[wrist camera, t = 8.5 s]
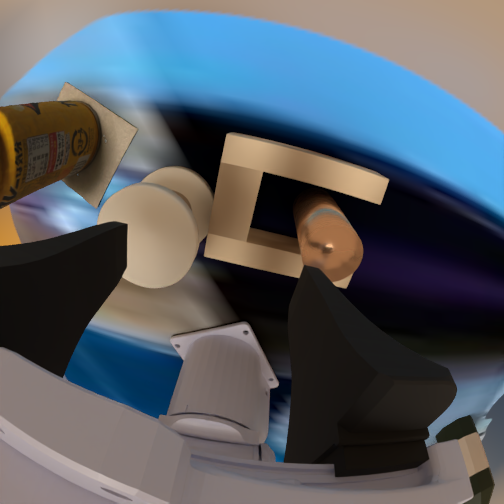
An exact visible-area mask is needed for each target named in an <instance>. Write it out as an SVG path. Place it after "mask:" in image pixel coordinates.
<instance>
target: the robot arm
mask: <svg viewBox="0 0 504 504" xmlns="http://www.w3.org/2000/svg"><path fill="white" fill-rule="evenodd" d="M127 234H128V224H126V223H122V222H117V221H111V222H106V223H102V224H99V225H95V226H92V227H88V228H85V229H82V230H79V231H75V232H72V233H68V234H65V235H61V236H58V237H54V238H50V239H46V240H41V241H36V242H31V243H24V244H16V245H8V246H0V504H463V503H465V502H467V501H468V500H470V499H472V498H473V496H474V495H473V491H472V487H471V483H470V479H469V475H468V472H467V468H466V465H465V461H464V458H463V455H462V451H461V448H460V445H459V442H458V440H456V439H454V440H450V441H445V442H440V443H436V444H433V445H431V446H429V447H427V448H426V444H425V441H424V440H426V439H427V438H429V431H428V428H427V427H428V426H429V425H430V424H431V423H433V422H434V421H435V420H436V419H437V418H438V417H439V416H440V415H441V414H442V413H443V412H444V411H445V410H446V409H447V408H448V407H449V406H450V405H451V403H452V402H453V400H454V398H455V396H456V393H457V387H456V384H455V382H454V380H453V378H452V376H451V373H450V371H449V370H448V368H446V367H443V366H441V365H439V364H437V363H435V362H432V361H430V360H428V359H426V358H424V357H422V356H420V355H418V354H417V353H415V352H413V351H411V350H410V349H408V348H406V347H405V346H403V345H401V344H400V343H398V342H397V341H395V340H394V339H393V338H391V337H390V336H388V335H387V334H385V333H384V332H383V331H381V330H380V329H379V328H378V327H376V326H375V325H374V324H373V323H372V322H371V321H369V320H368V319H367V318H366V317H365V316H364V315H363V314H361V313H360V312H359V311H358V310H357V309H356V308H355V307H354V306H353V305H352V304H351V303H350V302H349V300H348V299H347V298H346V297H345V296H344V295H343V294H342V293H341V292H340V291H339V290H338V288H337V287H336V286H335V285H334V284H333V283H332V282H331V280H330V279H329V278H328V277H327V276H326V275H325V274H324V273H323V272H322V271H321V270H320V269H319V268H316V267H311V266H307V265H304V266H303V269H302V272H301V275H300V277H299V280H298V283H297V286H296V288H295V291H294V294H293V297H292V299H291V302H290V305H289V314H288V335H289V347H290V359H291V371H292V388H291V405H290V417H289V428H288V436H287V444H286V451H285V457H284V463H280V462H275V454H274V452H273V451H272V450H271V448H269V445H268V444H266V443H264V441H265V439H266V437H267V434H268V424H269V399H270V388H275V387H278V385H279V381H278V380H277V378H276V376H275V374H274V372H273V370H272V368H271V366H270V364H269V362H268V360H267V358H266V356H265V354H264V352H263V350H262V348H261V346H260V344H259V342H258V340H257V338H256V336H255V334H254V332H253V330H252V328H251V326H250V324H249V323H247V322H239V323H235V324H230V325H226V326H221V327H217V328H212V329H207V330H202V331H197V332H192V333H187V334H182V335H177V336H173V337H171V339H170V342H171V344H172V345H173V346H174V348H175V349H176V351H177V352H178V353H179V355H180V356H181V358H182V359H183V360H184V362H183V365H182V368H181V371H180V374H179V378H178V381H177V384H176V387H175V390H174V393H173V396H172V399H171V403H170V406H169V409H168V412H167V415H166V416H165V415H160V416H159V419H156V418H154V417H151V416H149V415H147V414H144V413H142V412H140V411H138V410H136V409H133V408H131V407H129V406H127V405H124V404H121V403H119V402H116V401H113V400H111V399H108V398H106V397H103V396H101V395H98V394H96V393H94V392H91V391H89V390H87V389H84V388H82V387H80V386H78V385H76V384H73V383H71V382H69V381H67V380H65V379H63V376H64V373H65V371H66V368H67V366H68V363H69V361H70V359H71V356H72V354H73V352H74V350H75V348H76V345H77V343H78V342H79V340H80V338H81V336H82V334H83V332H84V330H85V328H86V327H87V325H88V324H89V322H90V321H91V319H92V318H93V316H94V315H95V314H96V312H97V311H98V310H99V308H100V307H101V306H102V304H103V303H104V302H105V300H106V299H107V298H108V296H109V295H110V294H111V292H112V291H113V290H114V288H115V287H116V286H117V284H118V283H119V281H120V279H121V277H122V276H123V274H124V272H125V270H126V268H127ZM245 331H248V332H245ZM177 344H179V345H177Z"/></svg>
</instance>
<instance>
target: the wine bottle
mask: <svg viewBox="0 0 504 504" xmlns="http://www.w3.org/2000/svg"><path fill="white" fill-rule="evenodd" d="M436 439H437V442H438V443H440V442H445V441H450V440H454V439H456V440H458V442H459V445H460V448H461V451H462V455H463V458H464V461H465V465H466V468H467V472H468V475H469V479H470V483H471V487H472V491H473V495H474V496H473V498H472V499H470V500H468V501H467V502H465V503H463V504H489V502H490V498H491V496H492V492H493V489H494V485H495V484H494V480H493V477H492V473H491V470H490V467H489V464H488V461H487V457H486V454H485V451H484V449H483V446H482V443H481V440H480V437H479V435H478V432H477V429H476V427H475V424H474V422H473V419H472V417H471V416H470V415H468V416H465V417H463V418H460V419H457V420H456V421H454V422H452V423H451V424H449V425H448V426H446V427H444V428H443V429H442V430H441V431H440V432H439V433H438V434H437V435H436Z"/></svg>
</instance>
